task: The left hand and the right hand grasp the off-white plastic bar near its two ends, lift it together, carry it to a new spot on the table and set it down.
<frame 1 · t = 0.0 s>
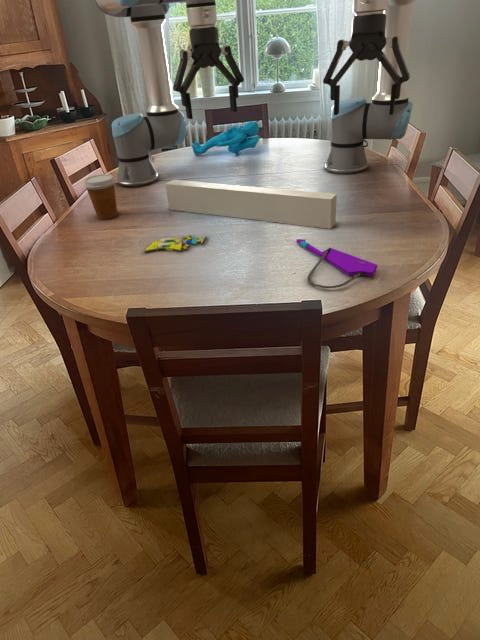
left hand: (212, 114, 136), 28 cm above the table, tool pointing down, fingers open, 13 cm apart
right hand: (363, 114, 120), 28 cm above the table, tool pointing down, fingers open, 13 cm apart
disposable coffee cup: (107, 216, 154), on the table
bar: (246, 215, 145), on the table
toy 2: (176, 245, 130), on the table
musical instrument: (324, 267, 113), on the table
toy: (226, 153, 210), on the table
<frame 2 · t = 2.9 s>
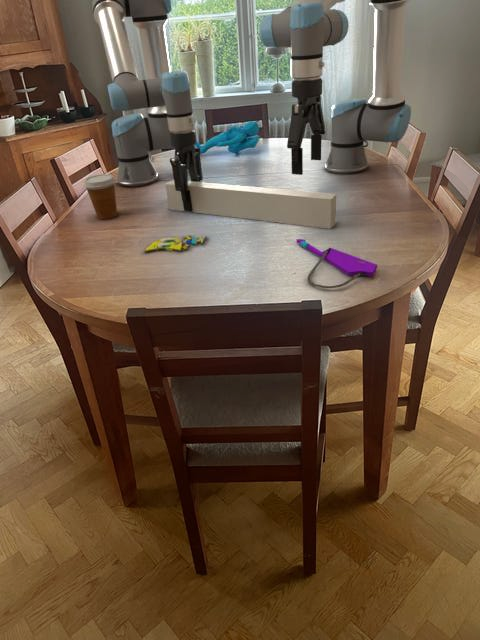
left hand: (192, 207, 153), 1 cm above the table, tool pointing down, fingers closed on bar, 4 cm apart
right hand: (307, 166, 128), 16 cm above the table, tool pointing down, fingers open, 13 cm apart
bar: (246, 215, 145), on the table, touching left hand
everything else where it was.
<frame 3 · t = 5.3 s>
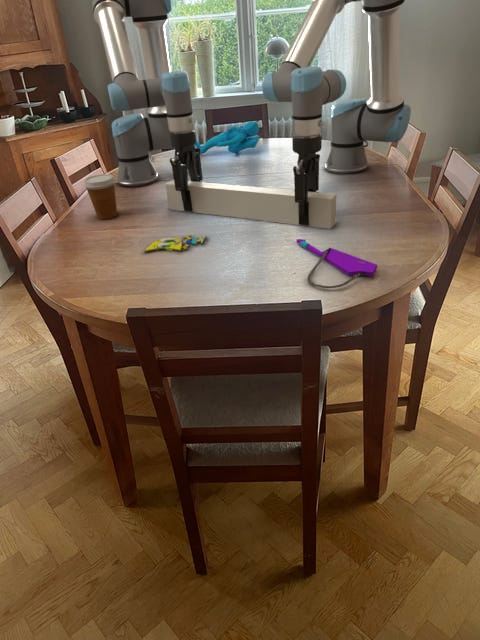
left hand: (192, 207, 153), 1 cm above the table, tool pointing down, fingers closed on bar, 4 cm apart
right hand: (307, 220, 136), 1 cm above the table, tool pointing down, fingers closed on bar, 4 cm apart
bar: (246, 215, 145), on the table, touching left hand, right hand
everything else where it was.
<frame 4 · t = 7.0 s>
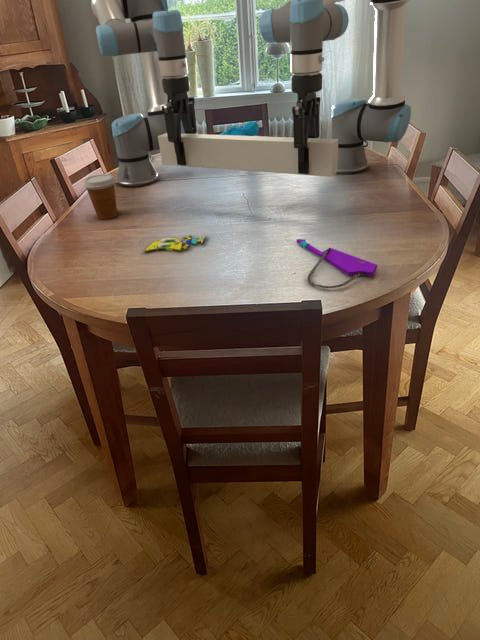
left hand: (186, 162, 145), 15 cm above the table, tool pointing down, fingers closed on bar, 4 cm apart
right hand: (307, 170, 128), 15 cm above the table, tool pointing down, fingers closed on bar, 4 cm apart
bar: (243, 168, 137), point 14 cm above the table, touching left hand, right hand
everything else where it was.
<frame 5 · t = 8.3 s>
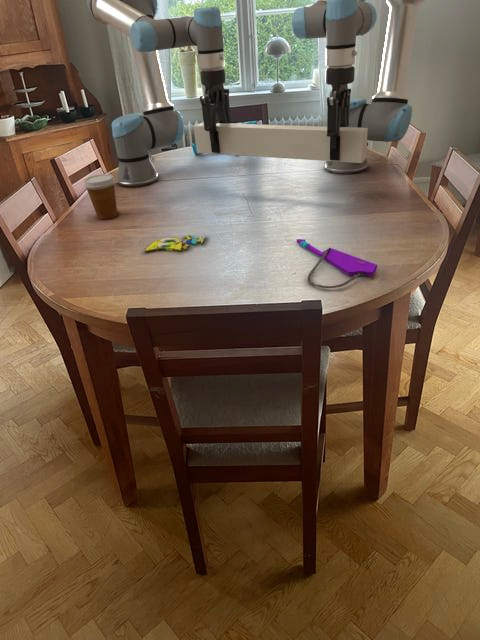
left hand: (220, 150, 154), 15 cm above the table, tool pointing down, fingers closed on bar, 5 cm apart
right hand: (337, 157, 138), 15 cm above the table, tool pointing down, fingers closed on bar, 4 cm apart
bar: (275, 155, 146), point 14 cm above the table, touching left hand, right hand
everything else where it was.
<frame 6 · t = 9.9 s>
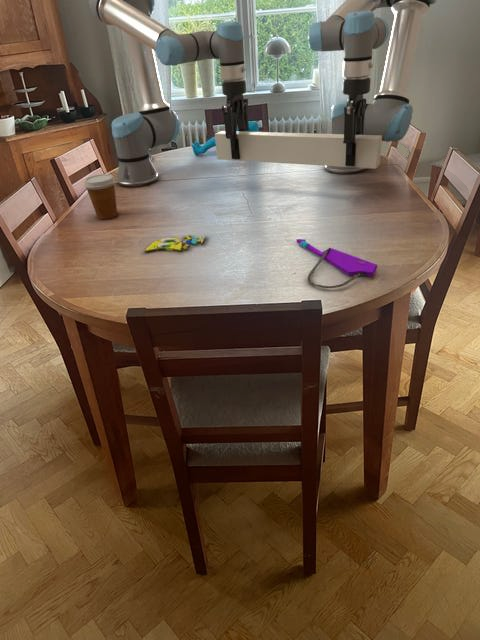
left hand: (239, 156, 162), 11 cm above the table, tool pointing down, fingers closed on bar, 4 cm apart
right hand: (352, 163, 145), 11 cm above the table, tool pointing down, fingers closed on bar, 4 cm apart
bar: (293, 161, 154), point 10 cm above the table, touching left hand, right hand
everything else where it was.
when the left hand's fingers open (1 cm above the table, at t = 11.2 s): bar stays where it is, on the table.
when the right hand's fingers open (1 cm above the table, at t = 11.2 s): bar stays where it is, on the table.
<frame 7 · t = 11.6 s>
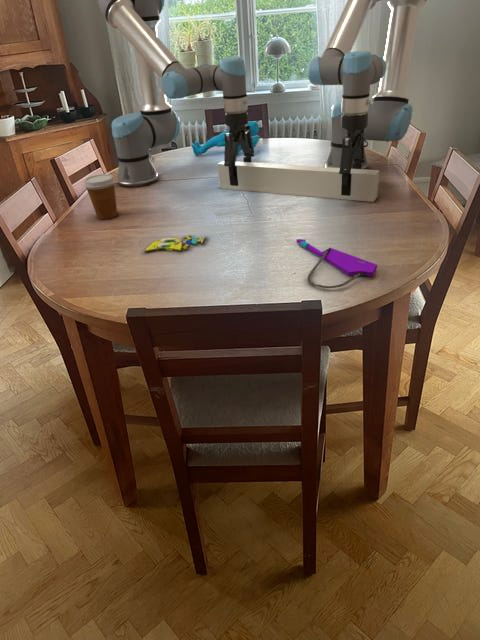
left hand: (241, 180, 166), 3 cm above the table, tool pointing down, fingers open, 10 cm apart
right hand: (351, 189, 149), 3 cm above the table, tool pointing down, fingers open, 10 cm apart
bar: (293, 192, 159), on the table
everything else where it was.
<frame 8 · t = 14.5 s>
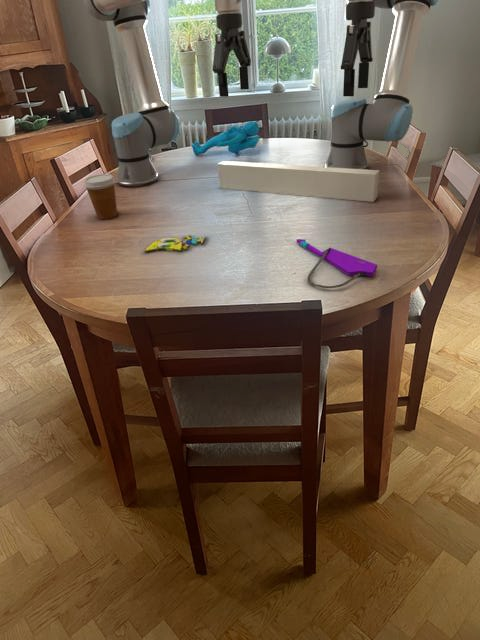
left hand: (234, 92, 151), 30 cm above the table, tool pointing down, fingers open, 13 cm apart
right hand: (355, 92, 134), 30 cm above the table, tool pointing down, fingers open, 13 cm apart
nothing on the table moved.
at the end: bar inside the target area (0.1 cm from its centre), on the table; bar tilted 0°; bar never tilted more than 2° during the clip; both hands held the bar at the same time; the left hand is holding nothing; the right hand is holding nothing; bar at rest at the end (0.0 cm/s) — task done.
